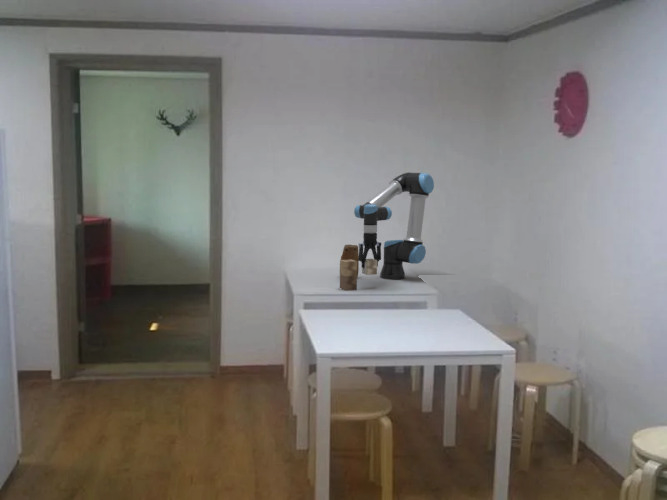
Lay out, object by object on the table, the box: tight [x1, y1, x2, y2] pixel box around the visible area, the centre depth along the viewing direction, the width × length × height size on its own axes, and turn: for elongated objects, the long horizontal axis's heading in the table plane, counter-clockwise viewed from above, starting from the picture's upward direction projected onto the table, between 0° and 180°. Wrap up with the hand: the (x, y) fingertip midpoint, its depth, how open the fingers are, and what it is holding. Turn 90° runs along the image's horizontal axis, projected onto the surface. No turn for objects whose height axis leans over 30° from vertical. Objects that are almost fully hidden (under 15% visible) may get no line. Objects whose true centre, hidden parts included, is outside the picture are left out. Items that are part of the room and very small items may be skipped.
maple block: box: [361, 258, 378, 276], centre depth 406 cm, size 6×6×8 cm
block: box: [340, 244, 360, 278], centre depth 438 cm, size 11×8×20 cm
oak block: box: [339, 259, 357, 276], centre depth 402 cm, size 7×7×8 cm
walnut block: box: [339, 274, 358, 291], centre depth 403 cm, size 7×7×8 cm
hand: (369, 273), depth 406 cm, fingers closed on maple block, 6 cm apart
